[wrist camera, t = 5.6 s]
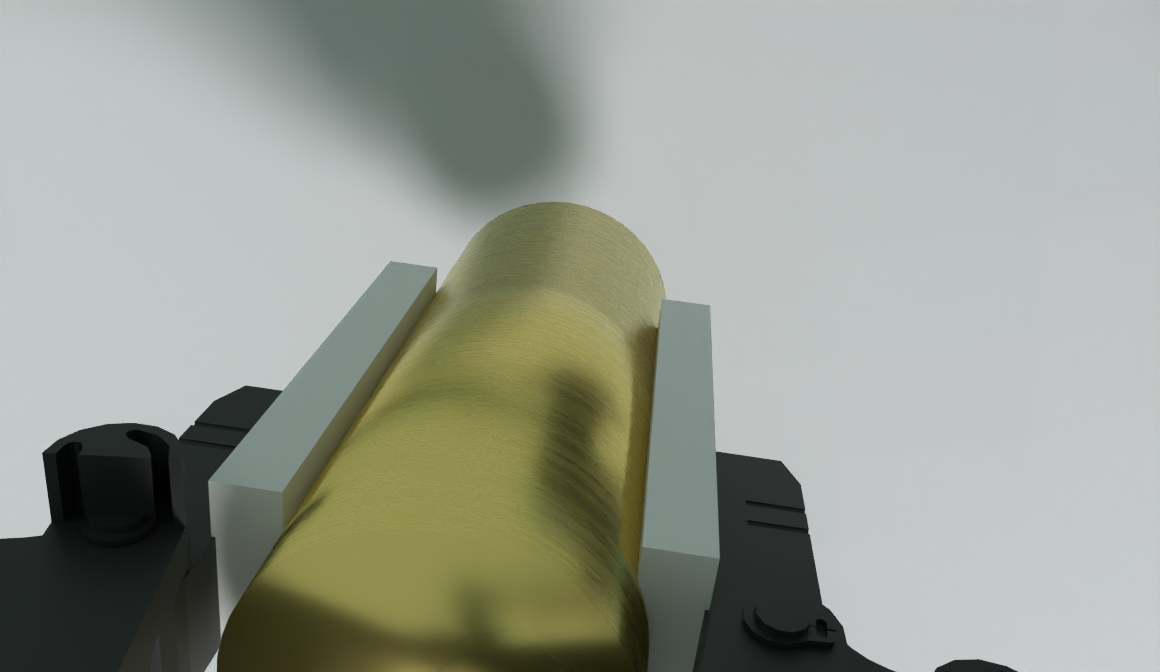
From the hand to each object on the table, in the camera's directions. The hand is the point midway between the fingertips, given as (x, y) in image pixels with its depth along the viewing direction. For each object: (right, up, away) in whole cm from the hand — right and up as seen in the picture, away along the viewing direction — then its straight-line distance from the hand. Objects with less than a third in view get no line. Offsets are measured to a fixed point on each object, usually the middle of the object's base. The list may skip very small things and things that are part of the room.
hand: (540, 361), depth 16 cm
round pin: (0, +1, +2) cm, 2 cm away
